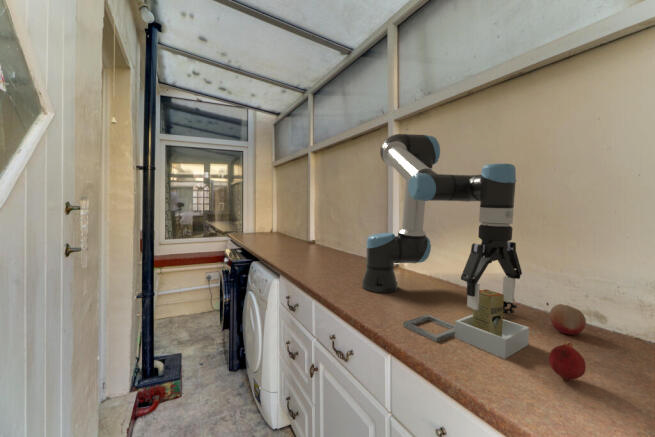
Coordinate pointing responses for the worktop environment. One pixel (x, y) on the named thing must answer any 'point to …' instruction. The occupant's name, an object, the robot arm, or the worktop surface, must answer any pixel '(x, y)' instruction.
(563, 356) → the onion
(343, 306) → the worktop surface
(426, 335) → the collar
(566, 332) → the fruit
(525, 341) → the tray
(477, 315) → the shoe polish box
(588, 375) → the worktop surface
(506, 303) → the valve
